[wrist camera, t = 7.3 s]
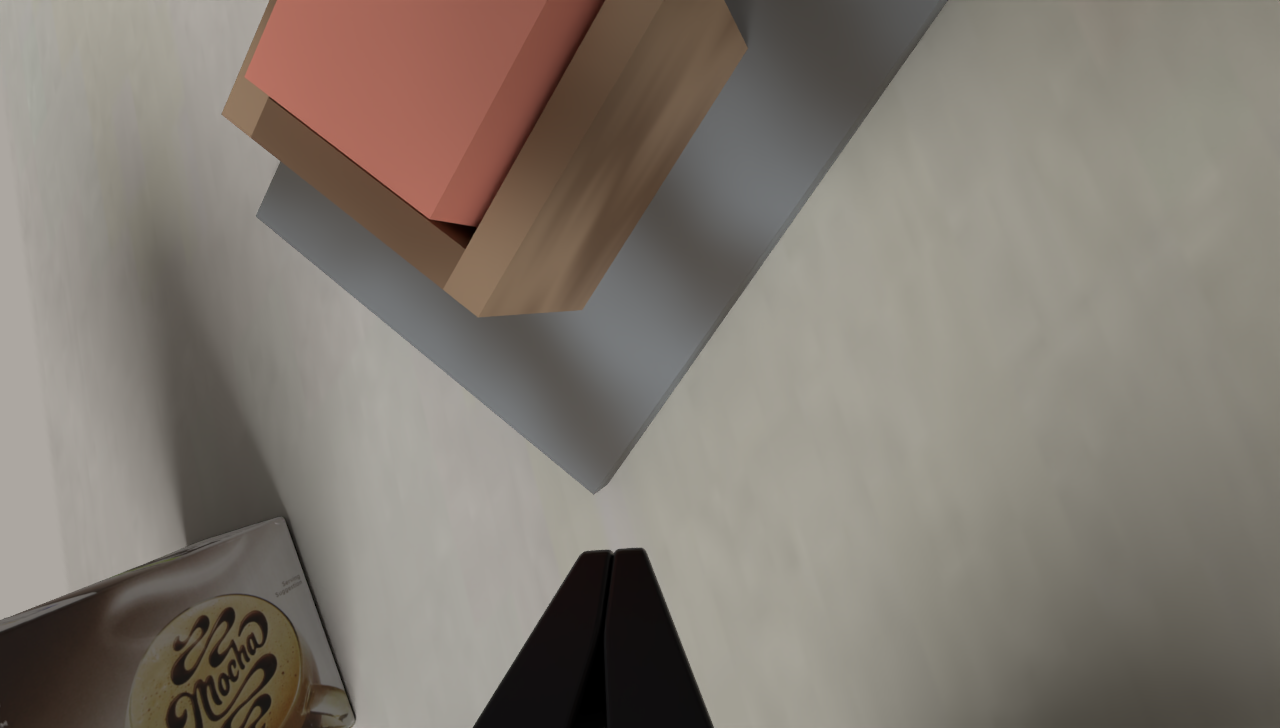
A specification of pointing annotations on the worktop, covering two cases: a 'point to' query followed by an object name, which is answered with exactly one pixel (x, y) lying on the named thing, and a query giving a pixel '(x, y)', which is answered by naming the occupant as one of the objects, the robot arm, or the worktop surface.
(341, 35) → the pink eraser block
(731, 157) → the stand
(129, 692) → the coffee box
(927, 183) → the worktop surface
